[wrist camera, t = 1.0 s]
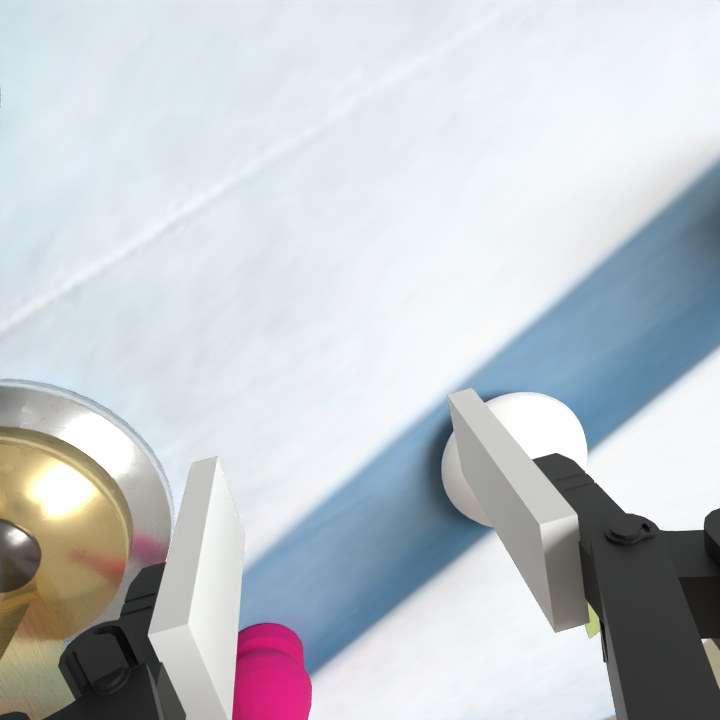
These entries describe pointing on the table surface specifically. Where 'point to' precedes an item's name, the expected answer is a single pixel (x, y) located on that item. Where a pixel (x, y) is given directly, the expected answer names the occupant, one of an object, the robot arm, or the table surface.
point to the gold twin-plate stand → (53, 561)
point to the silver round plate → (111, 450)
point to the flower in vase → (537, 438)
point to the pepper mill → (270, 675)
